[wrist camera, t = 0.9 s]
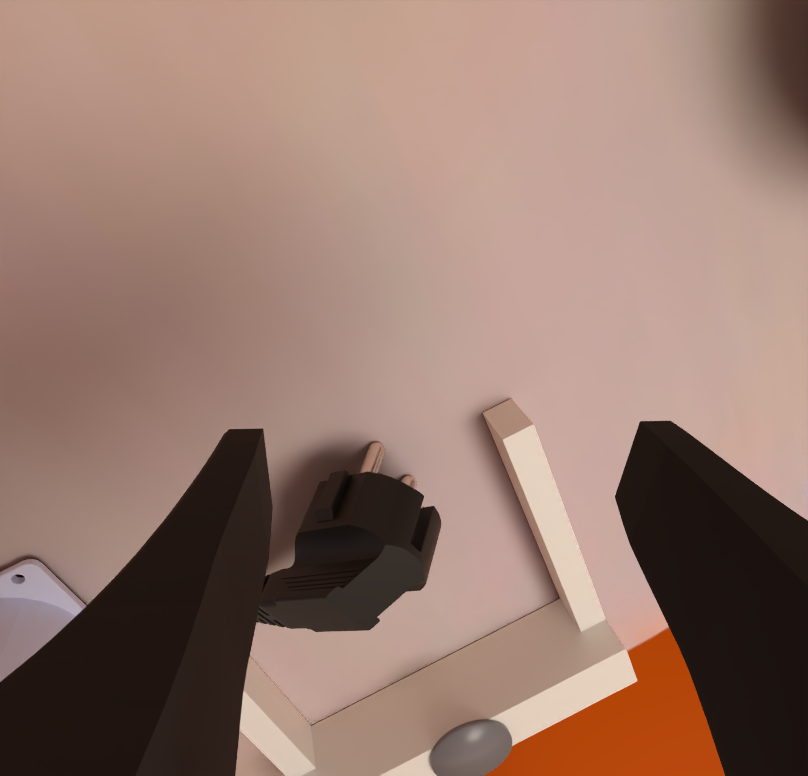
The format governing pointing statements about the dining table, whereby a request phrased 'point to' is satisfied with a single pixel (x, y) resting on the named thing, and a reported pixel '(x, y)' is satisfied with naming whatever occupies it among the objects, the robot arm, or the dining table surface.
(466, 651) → the socket dock
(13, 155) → the dining table surface
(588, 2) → the dining table surface
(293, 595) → the power plug
